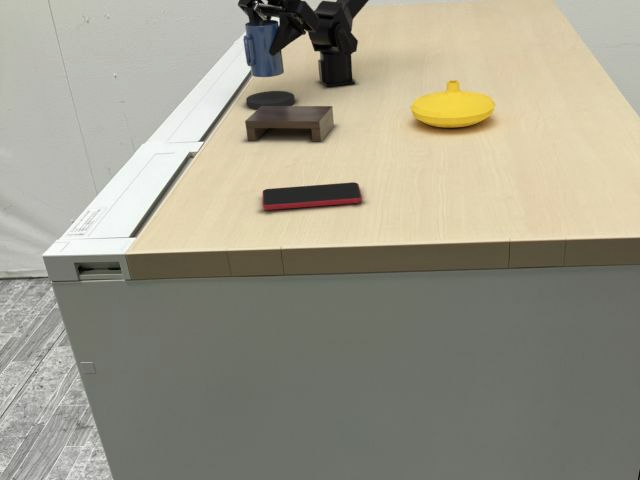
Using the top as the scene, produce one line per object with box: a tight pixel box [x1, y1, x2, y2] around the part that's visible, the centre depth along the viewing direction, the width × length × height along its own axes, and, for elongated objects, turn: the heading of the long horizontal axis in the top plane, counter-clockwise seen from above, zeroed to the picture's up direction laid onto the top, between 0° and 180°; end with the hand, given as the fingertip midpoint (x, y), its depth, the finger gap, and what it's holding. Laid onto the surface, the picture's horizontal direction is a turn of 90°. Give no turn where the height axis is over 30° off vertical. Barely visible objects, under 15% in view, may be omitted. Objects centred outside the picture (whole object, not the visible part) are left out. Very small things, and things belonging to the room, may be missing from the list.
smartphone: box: [262, 182, 363, 211], centre depth 126 cm, size 7×1×15 cm
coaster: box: [245, 90, 296, 111], centre depth 171 cm, size 10×10×1 cm
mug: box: [242, 19, 285, 78], centre depth 165 cm, size 8×7×9 cm
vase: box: [410, 79, 496, 128], centre depth 152 cm, size 16×16×7 cm
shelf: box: [244, 105, 335, 143], centre depth 153 cm, size 10×14×4 cm
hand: (259, 52), depth 165 cm, fingers closed on mug, 6 cm apart
